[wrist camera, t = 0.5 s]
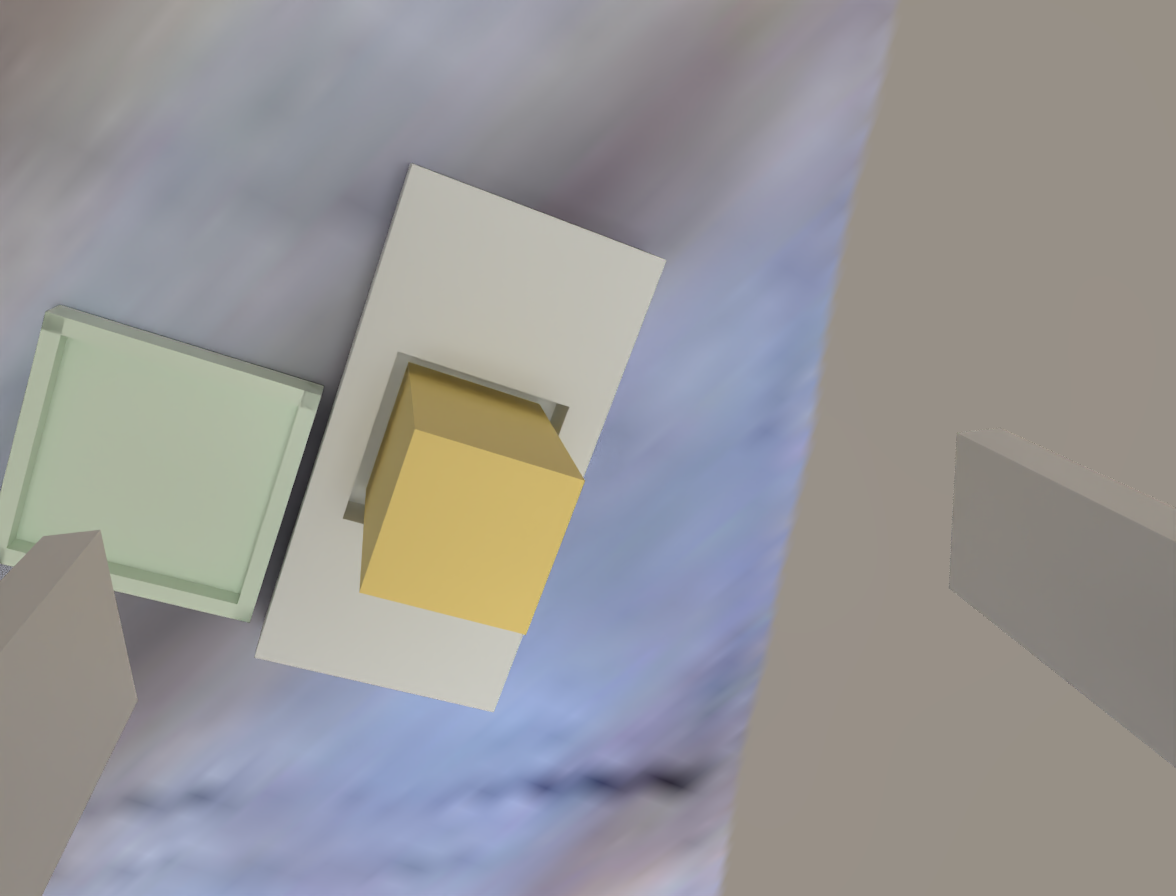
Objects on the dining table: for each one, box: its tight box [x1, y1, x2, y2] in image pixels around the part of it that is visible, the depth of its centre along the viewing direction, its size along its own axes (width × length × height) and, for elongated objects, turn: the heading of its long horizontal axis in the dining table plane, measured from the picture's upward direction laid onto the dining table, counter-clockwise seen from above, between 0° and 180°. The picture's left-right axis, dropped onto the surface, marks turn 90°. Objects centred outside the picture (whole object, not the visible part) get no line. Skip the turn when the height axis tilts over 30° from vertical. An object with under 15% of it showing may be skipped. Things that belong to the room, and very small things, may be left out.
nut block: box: [359, 362, 585, 635], centre depth 32 cm, size 5×5×9 cm
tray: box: [0, 305, 324, 623], centre depth 35 cm, size 9×9×2 cm
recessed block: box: [254, 163, 666, 712], centre depth 36 cm, size 9×18×3 cm, turn 159°
